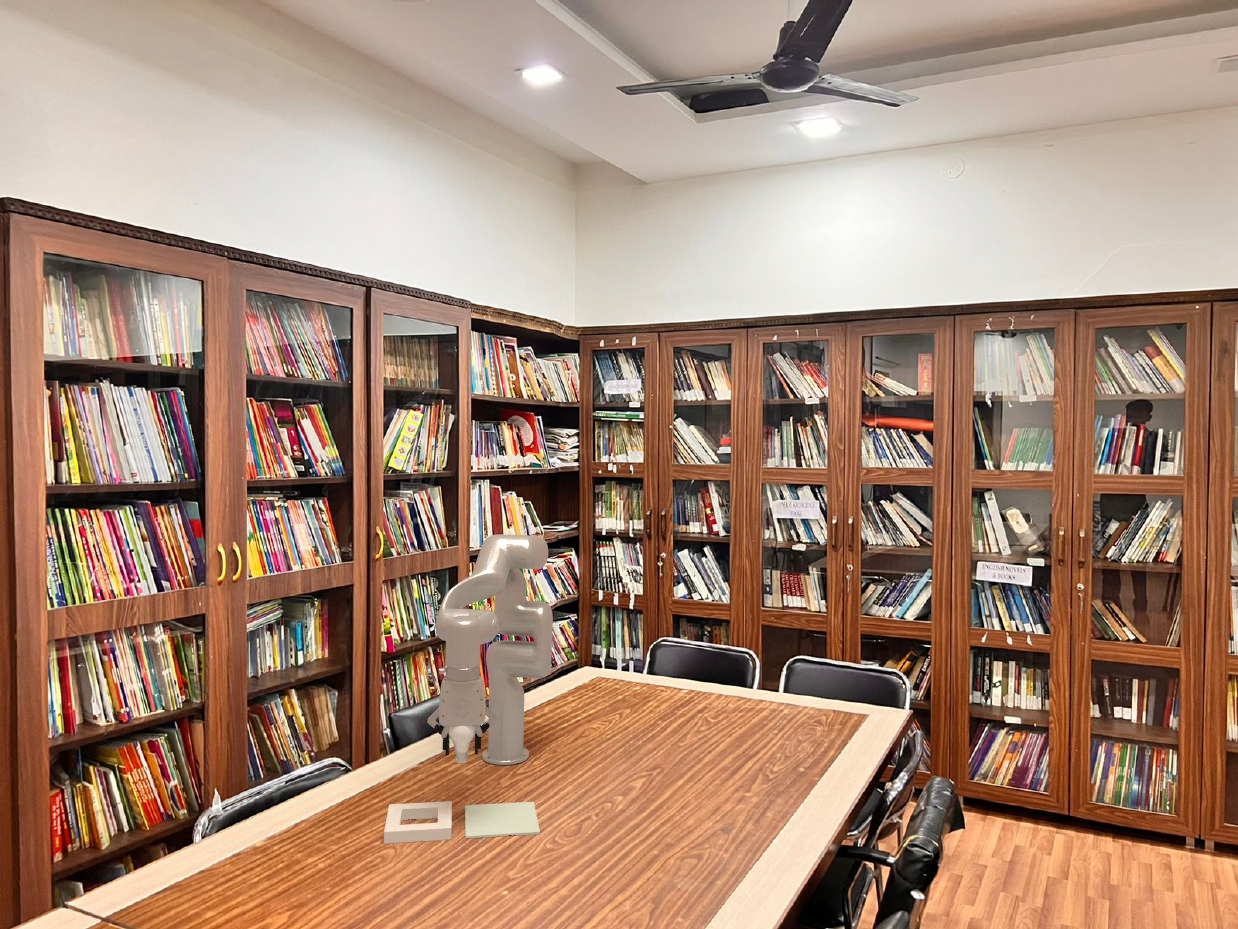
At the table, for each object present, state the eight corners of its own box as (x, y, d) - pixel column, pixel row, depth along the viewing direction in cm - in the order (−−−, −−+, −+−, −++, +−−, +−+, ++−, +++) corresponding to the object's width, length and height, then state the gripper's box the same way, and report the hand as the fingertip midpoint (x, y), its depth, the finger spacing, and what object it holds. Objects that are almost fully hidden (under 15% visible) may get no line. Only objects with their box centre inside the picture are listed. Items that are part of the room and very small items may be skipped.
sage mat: (465, 807, 201) (465, 805, 201) (533, 803, 204) (533, 801, 204) (465, 838, 186) (465, 836, 186) (539, 834, 188) (539, 831, 188)
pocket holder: (389, 815, 196) (389, 804, 196) (451, 812, 199) (452, 801, 199) (383, 843, 182) (383, 832, 182) (451, 839, 185) (451, 828, 185)
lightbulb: (478, 758, 196) (478, 710, 195) (473, 769, 190) (474, 719, 189) (450, 757, 196) (450, 710, 195) (444, 768, 190) (445, 719, 189)
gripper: (422, 678, 187) (421, 761, 188) (502, 676, 190) (501, 757, 190) (424, 669, 194) (423, 748, 195) (501, 667, 197) (500, 745, 198)
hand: (461, 752), depth 193 cm, fingers closed on lightbulb, 5 cm apart
